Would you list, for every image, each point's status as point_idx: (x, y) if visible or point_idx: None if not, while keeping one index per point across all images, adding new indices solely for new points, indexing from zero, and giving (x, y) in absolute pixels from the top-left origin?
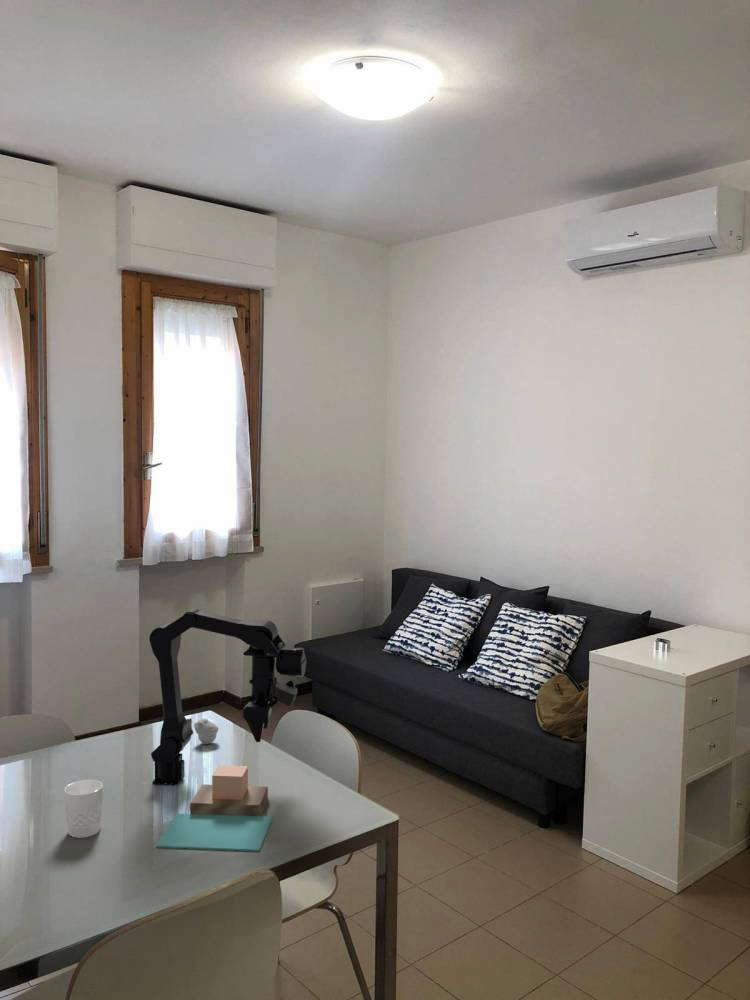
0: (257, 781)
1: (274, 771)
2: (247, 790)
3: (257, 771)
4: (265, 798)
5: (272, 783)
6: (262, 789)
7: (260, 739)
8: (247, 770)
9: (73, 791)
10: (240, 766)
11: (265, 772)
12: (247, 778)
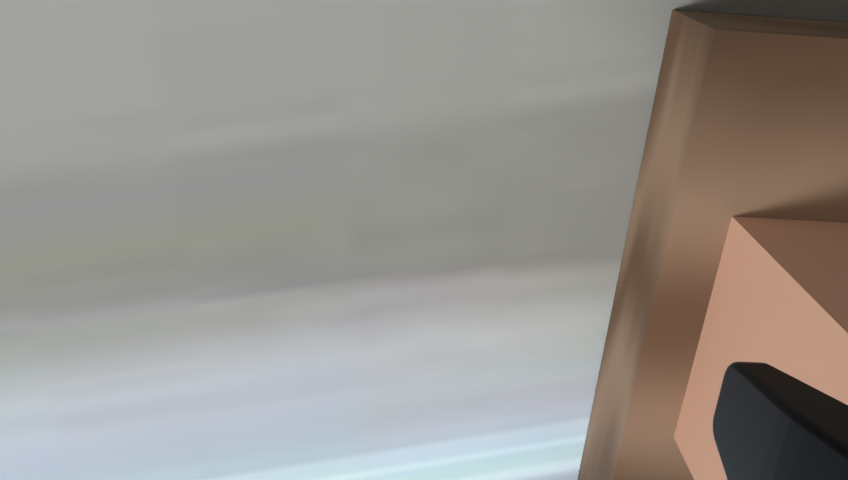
0: (298, 150)
1: (46, 20)
2: (770, 213)
3: (80, 180)
4: (801, 26)
5: (332, 6)
6: (774, 76)
7: (809, 387)
8: (837, 309)
9: None
10: None
11: (88, 105)
12: (794, 264)
